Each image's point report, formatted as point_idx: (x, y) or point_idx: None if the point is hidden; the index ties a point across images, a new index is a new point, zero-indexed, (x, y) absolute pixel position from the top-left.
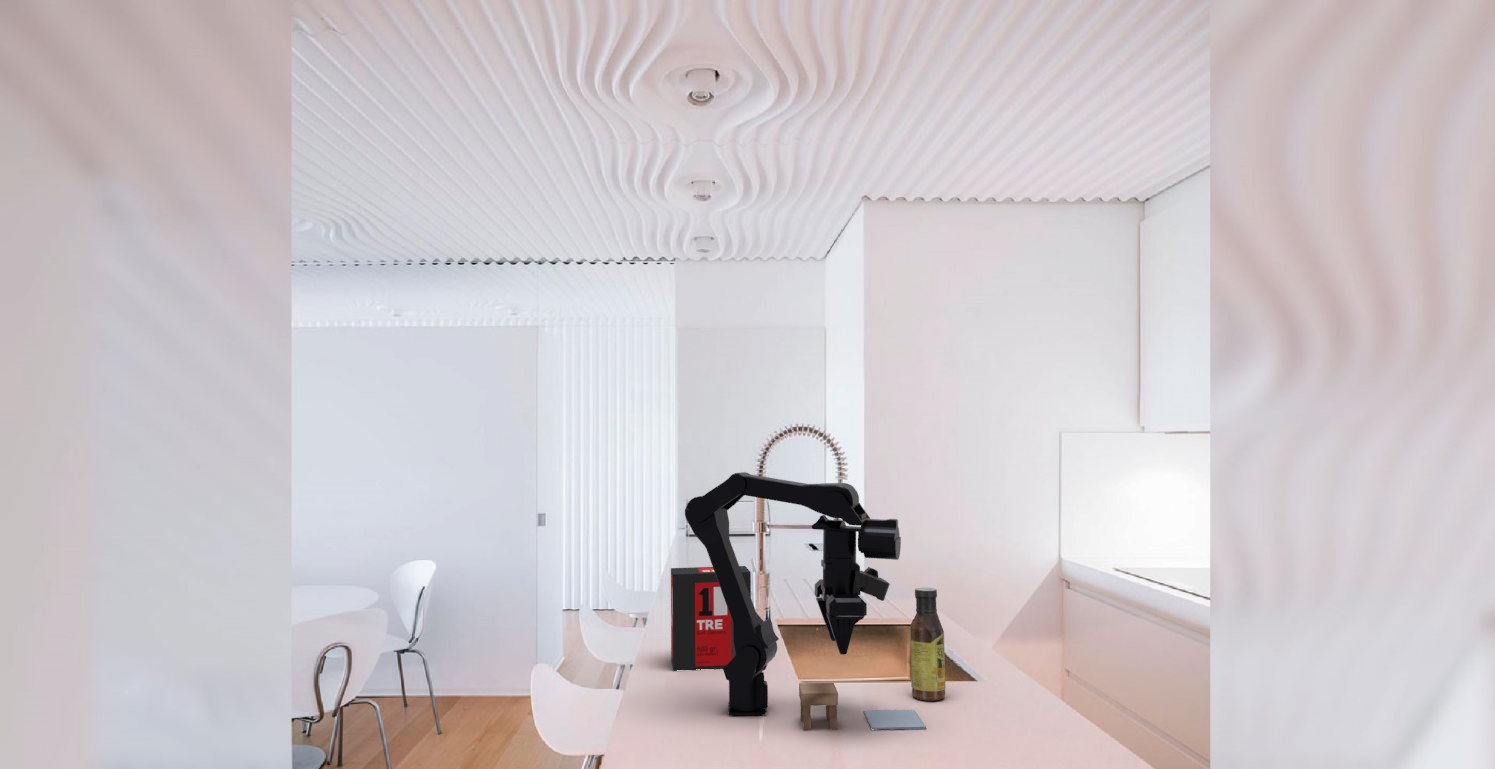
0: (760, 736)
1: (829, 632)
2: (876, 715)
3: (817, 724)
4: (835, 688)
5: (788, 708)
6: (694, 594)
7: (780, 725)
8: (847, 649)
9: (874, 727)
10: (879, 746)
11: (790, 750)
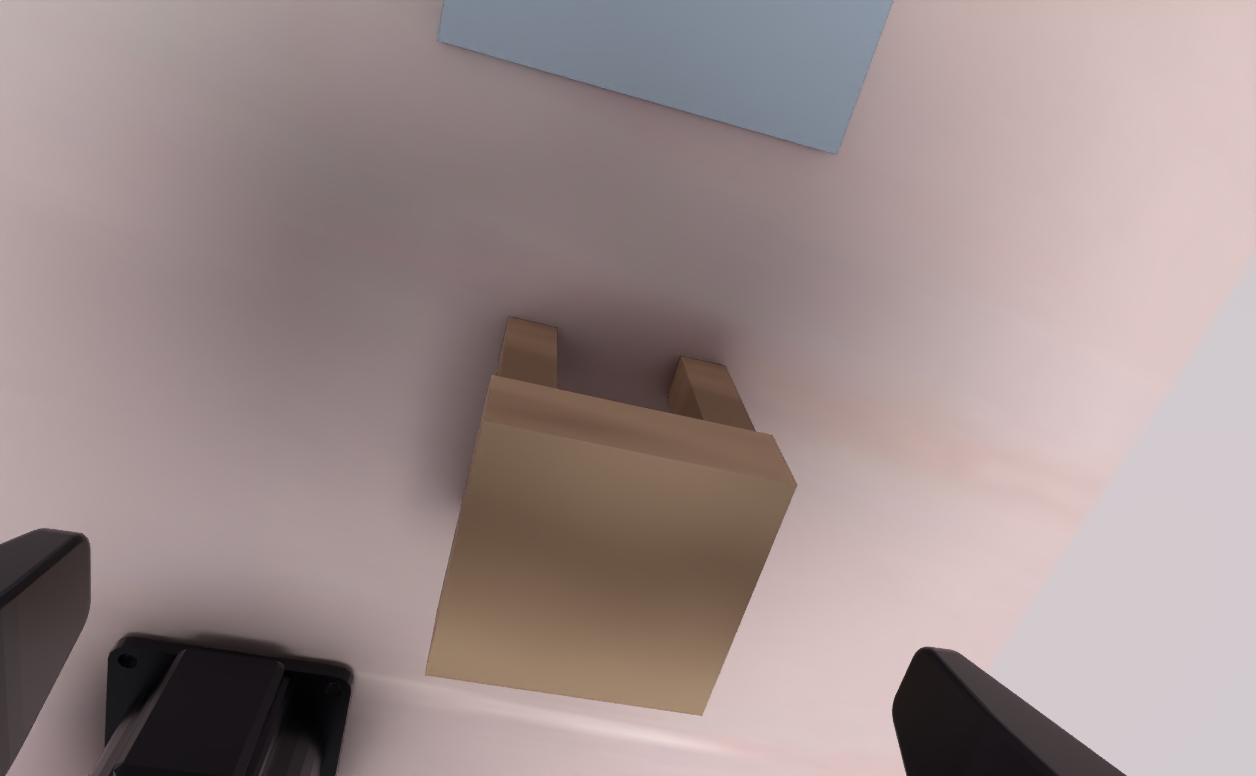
0: (673, 741)
1: (3, 762)
2: None
3: None
4: (668, 464)
5: (221, 516)
6: None
7: None
8: (1011, 695)
9: (838, 134)
10: (1100, 231)
11: None
